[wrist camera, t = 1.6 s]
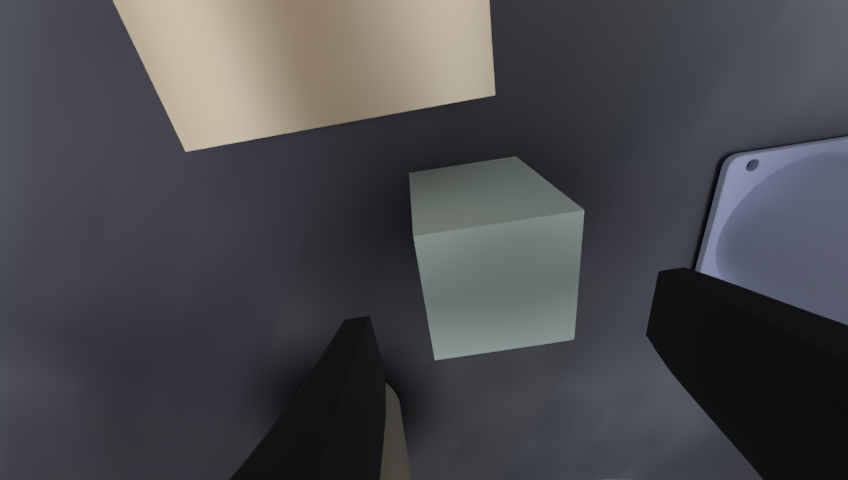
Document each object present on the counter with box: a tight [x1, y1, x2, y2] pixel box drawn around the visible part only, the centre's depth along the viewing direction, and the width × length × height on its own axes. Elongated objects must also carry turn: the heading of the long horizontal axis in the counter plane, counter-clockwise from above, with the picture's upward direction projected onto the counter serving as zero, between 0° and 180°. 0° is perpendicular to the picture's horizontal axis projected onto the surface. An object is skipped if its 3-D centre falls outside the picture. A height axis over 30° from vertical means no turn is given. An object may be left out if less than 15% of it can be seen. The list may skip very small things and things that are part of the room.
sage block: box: [409, 156, 584, 360], centre depth 13 cm, size 4×4×6 cm
